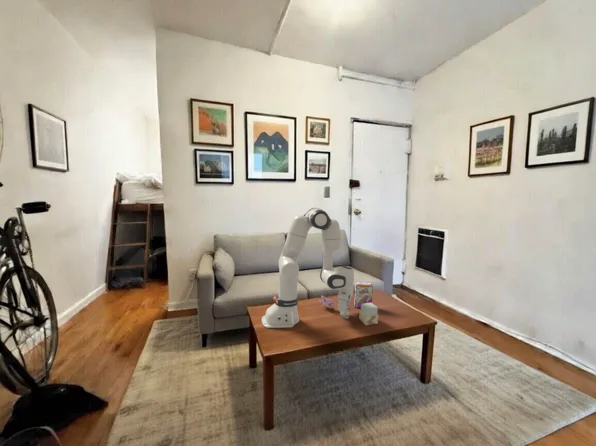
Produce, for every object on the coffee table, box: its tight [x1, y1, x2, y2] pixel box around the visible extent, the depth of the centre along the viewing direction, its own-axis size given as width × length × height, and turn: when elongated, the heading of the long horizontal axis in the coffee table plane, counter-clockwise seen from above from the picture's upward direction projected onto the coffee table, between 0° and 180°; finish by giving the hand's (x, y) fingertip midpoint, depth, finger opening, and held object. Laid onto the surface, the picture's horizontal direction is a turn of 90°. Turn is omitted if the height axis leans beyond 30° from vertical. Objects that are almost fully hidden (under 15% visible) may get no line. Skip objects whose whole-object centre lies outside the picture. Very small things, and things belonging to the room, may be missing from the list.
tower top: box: [360, 302, 379, 317], centre depth 162 cm, size 7×7×5 cm
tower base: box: [358, 310, 379, 326], centre depth 162 cm, size 8×8×5 cm
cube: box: [339, 307, 351, 320], centre depth 168 cm, size 5×5×5 cm
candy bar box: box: [353, 281, 374, 309], centre depth 182 cm, size 11×5×16 cm, turn 84°
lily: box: [318, 295, 338, 312], centre depth 177 cm, size 12×12×10 cm
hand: (345, 313), depth 168 cm, fingers closed on cube, 5 cm apart
